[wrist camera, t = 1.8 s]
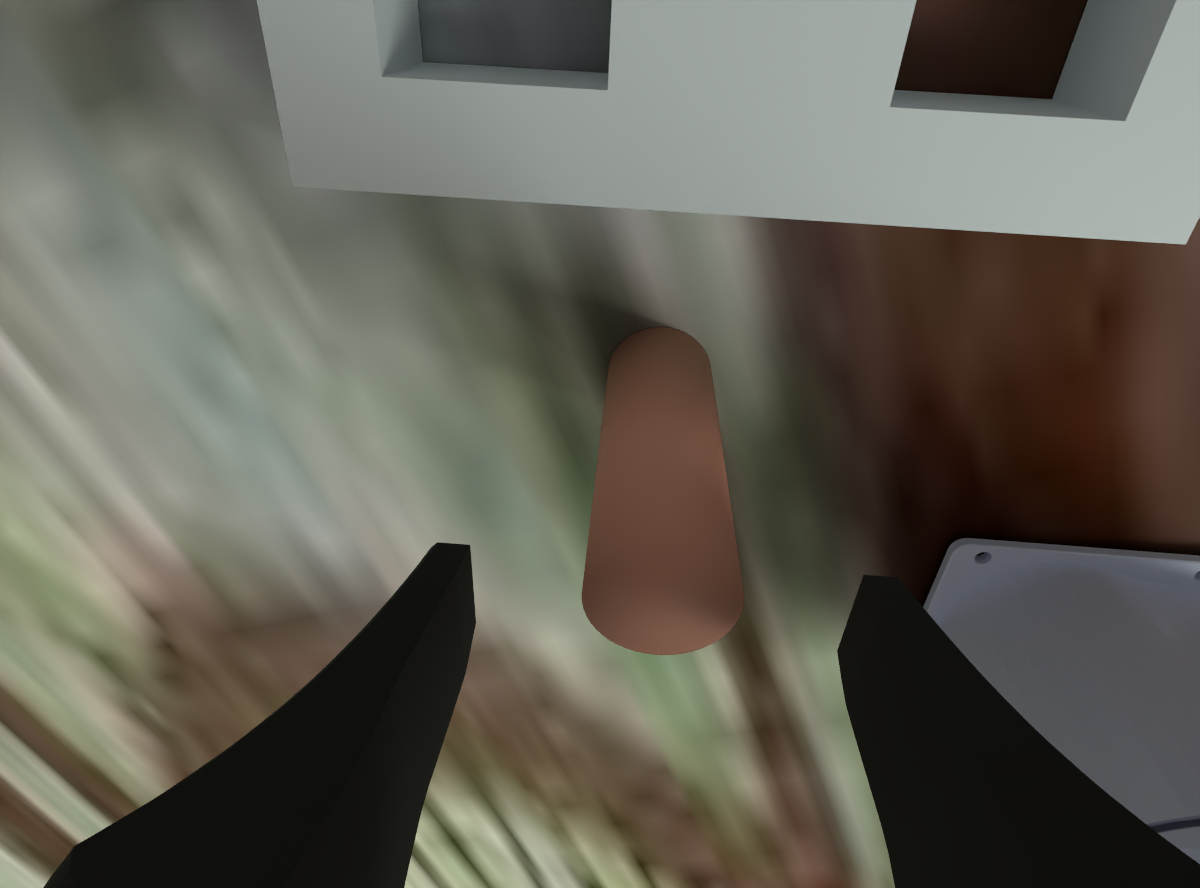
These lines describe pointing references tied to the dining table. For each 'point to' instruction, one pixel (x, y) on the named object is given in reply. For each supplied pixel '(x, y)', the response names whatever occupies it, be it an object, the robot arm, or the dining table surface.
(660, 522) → the peg
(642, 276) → the dining table surface
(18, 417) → the dining table surface
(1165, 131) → the hole block
